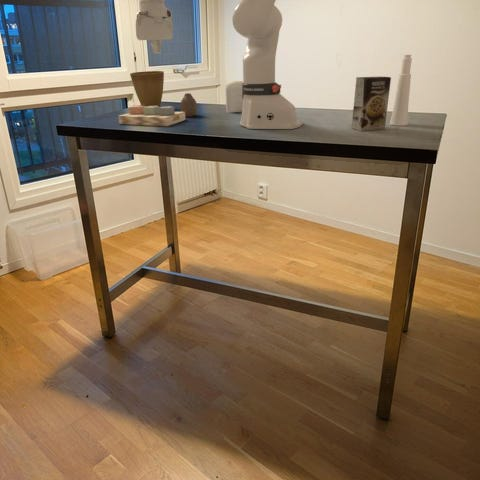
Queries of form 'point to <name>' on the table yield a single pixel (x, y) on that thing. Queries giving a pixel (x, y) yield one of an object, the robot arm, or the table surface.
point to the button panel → (151, 119)
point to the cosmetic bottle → (402, 94)
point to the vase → (188, 105)
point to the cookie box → (370, 103)
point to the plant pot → (148, 87)
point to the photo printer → (234, 97)
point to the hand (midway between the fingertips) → (157, 53)
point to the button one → (136, 109)
